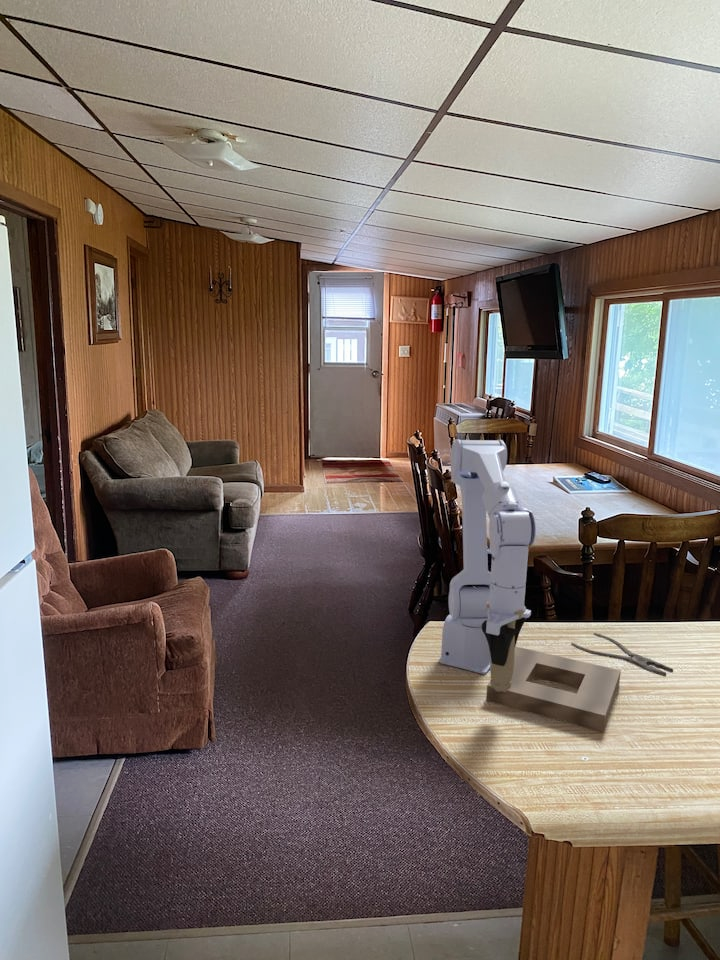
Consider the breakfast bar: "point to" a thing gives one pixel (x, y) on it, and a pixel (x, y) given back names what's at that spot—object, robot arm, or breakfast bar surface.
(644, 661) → the pliers
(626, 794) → the breakfast bar surface
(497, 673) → the handle
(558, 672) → the socket plate
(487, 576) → the robot arm
